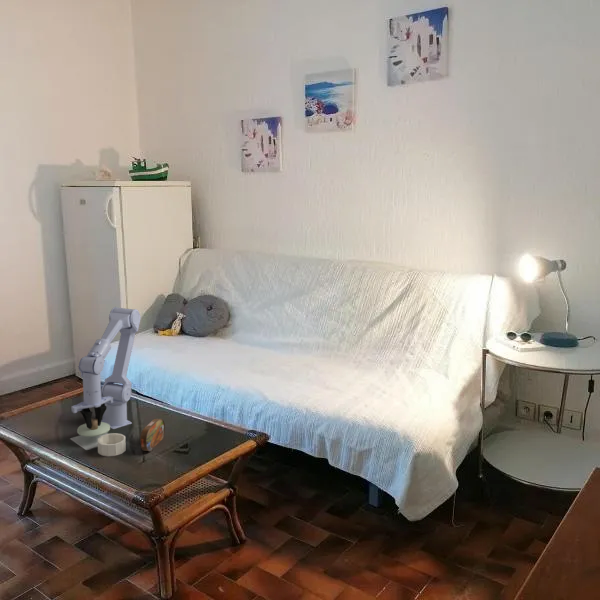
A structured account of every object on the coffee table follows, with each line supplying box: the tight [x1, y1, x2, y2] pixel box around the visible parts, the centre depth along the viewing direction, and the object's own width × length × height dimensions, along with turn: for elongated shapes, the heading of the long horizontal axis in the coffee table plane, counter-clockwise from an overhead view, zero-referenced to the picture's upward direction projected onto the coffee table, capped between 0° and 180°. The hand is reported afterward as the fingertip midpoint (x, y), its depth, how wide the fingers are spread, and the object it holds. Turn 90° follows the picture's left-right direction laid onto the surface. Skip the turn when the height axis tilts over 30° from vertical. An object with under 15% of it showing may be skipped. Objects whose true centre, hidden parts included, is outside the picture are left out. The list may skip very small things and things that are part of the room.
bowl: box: [97, 432, 127, 457], centre depth 201 cm, size 9×9×4 cm
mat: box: [69, 432, 110, 451], centre depth 209 cm, size 12×12×1 cm
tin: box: [139, 418, 166, 452], centre depth 206 cm, size 15×3×8 cm, turn 168°
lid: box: [76, 417, 111, 437], centre depth 208 cm, size 11×11×4 cm
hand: (93, 426), depth 208 cm, fingers closed on lid, 3 cm apart
